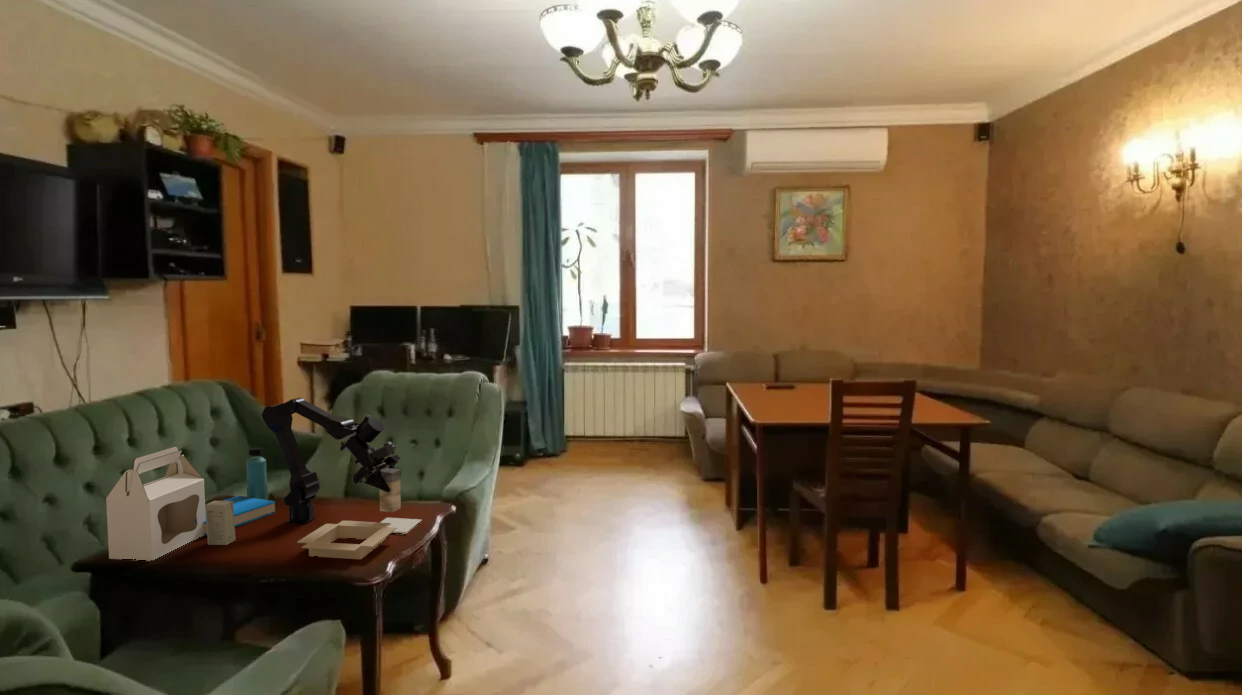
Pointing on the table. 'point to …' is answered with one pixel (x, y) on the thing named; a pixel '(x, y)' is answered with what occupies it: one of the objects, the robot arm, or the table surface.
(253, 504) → the book
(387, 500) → the capped block
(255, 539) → the table surface
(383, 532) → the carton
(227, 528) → the skincare box
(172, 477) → the gable box
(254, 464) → the beverage bottle
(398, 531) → the white square tile
